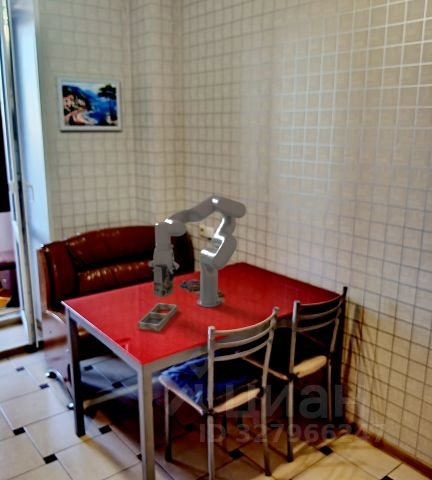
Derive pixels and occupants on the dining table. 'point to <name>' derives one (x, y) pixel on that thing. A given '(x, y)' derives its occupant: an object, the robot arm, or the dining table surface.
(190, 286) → the gear puzzle
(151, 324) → the frame
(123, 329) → the dining table surface
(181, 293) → the dining table surface
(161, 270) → the coffee box
